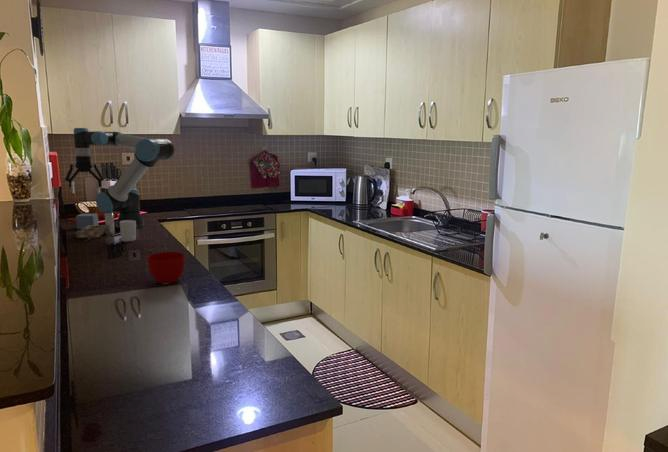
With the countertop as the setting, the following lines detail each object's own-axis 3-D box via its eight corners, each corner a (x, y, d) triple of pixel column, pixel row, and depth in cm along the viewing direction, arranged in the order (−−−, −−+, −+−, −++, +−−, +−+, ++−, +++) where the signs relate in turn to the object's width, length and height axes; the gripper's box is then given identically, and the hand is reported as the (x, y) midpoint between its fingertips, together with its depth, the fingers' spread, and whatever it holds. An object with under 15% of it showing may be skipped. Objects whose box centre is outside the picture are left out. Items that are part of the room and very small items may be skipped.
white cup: (131, 242, 251) (130, 222, 250) (117, 241, 253) (116, 222, 251) (140, 239, 259) (139, 220, 257) (126, 238, 261) (125, 219, 259)
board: (108, 230, 282) (108, 225, 282) (98, 237, 263) (98, 231, 262) (88, 230, 280) (87, 225, 280) (76, 237, 261) (75, 232, 260)
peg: (115, 233, 272) (114, 212, 270) (113, 235, 268) (112, 213, 265) (107, 234, 271) (105, 212, 269) (105, 235, 267) (103, 213, 265)
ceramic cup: (167, 273, 196) (165, 248, 194) (192, 281, 185) (191, 255, 183) (136, 280, 186) (134, 254, 184) (161, 289, 175) (160, 262, 173)
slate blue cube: (98, 226, 293) (97, 213, 291) (93, 229, 284) (92, 215, 283) (82, 227, 291) (81, 213, 290) (77, 230, 282) (76, 216, 281)
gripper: (56, 155, 274) (60, 194, 277) (105, 155, 279) (107, 193, 282) (61, 155, 281) (64, 192, 285) (108, 155, 286) (110, 191, 290)
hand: (86, 193), depth 283 cm, fingers open, 13 cm apart
